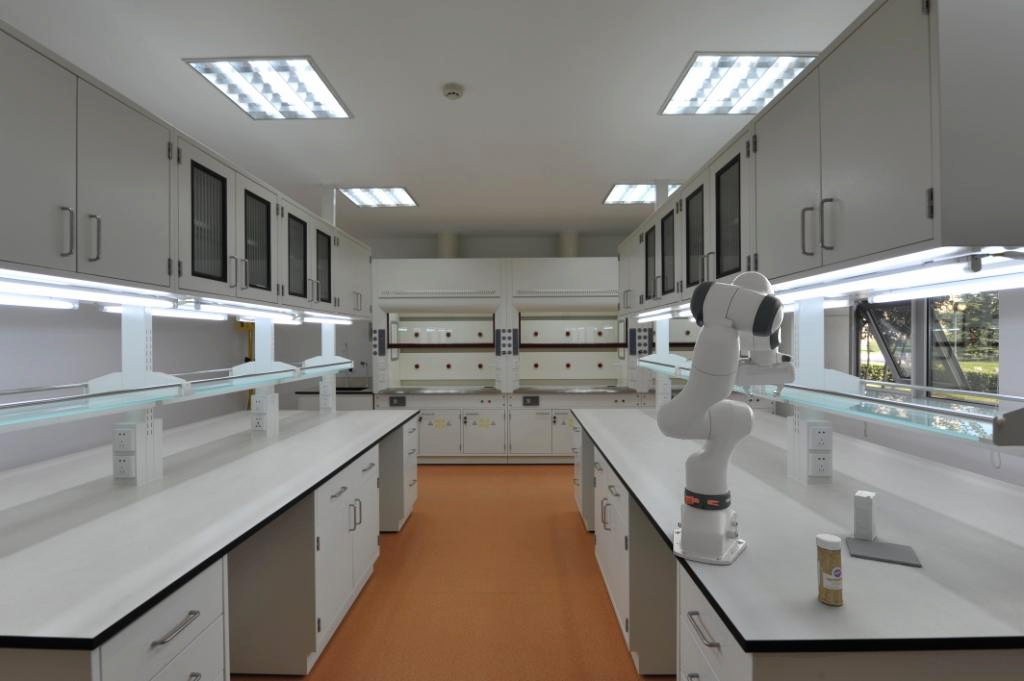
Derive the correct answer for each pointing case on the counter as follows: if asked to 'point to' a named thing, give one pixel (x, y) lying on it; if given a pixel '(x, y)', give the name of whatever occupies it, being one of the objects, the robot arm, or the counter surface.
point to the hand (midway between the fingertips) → (763, 397)
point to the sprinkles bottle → (829, 569)
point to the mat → (882, 551)
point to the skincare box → (865, 515)
